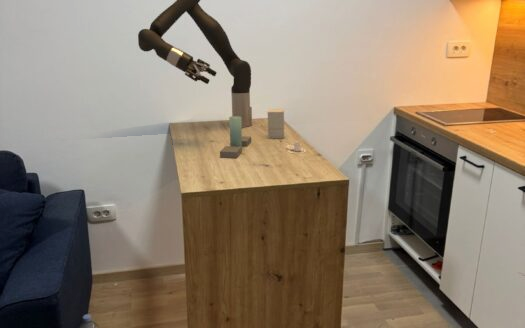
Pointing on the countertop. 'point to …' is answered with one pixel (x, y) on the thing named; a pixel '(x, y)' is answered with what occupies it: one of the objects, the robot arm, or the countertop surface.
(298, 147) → the teacup and saucer
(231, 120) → the teal green tall block
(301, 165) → the countertop surface
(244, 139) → the rectangular blocks
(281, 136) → the supplement box
